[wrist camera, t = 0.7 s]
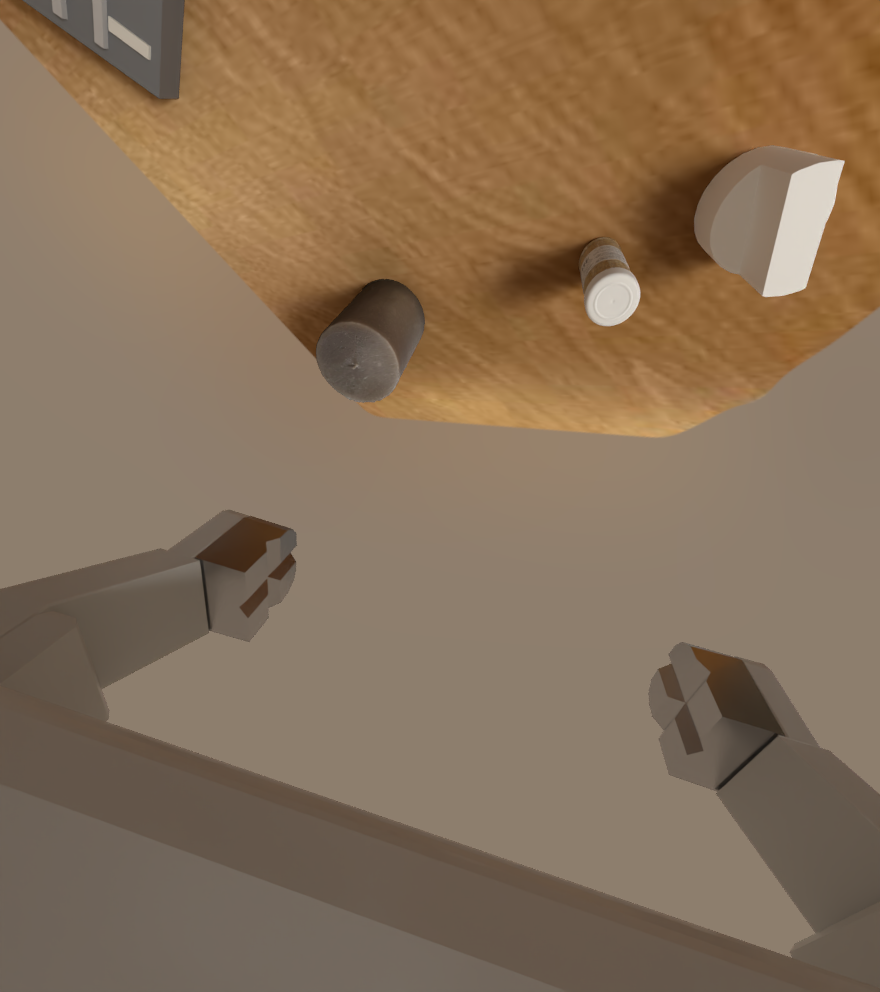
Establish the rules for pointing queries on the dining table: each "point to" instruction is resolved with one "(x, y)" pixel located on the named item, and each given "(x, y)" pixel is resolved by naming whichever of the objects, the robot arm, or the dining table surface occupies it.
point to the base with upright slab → (768, 216)
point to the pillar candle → (371, 341)
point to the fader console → (127, 36)
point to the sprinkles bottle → (607, 283)
